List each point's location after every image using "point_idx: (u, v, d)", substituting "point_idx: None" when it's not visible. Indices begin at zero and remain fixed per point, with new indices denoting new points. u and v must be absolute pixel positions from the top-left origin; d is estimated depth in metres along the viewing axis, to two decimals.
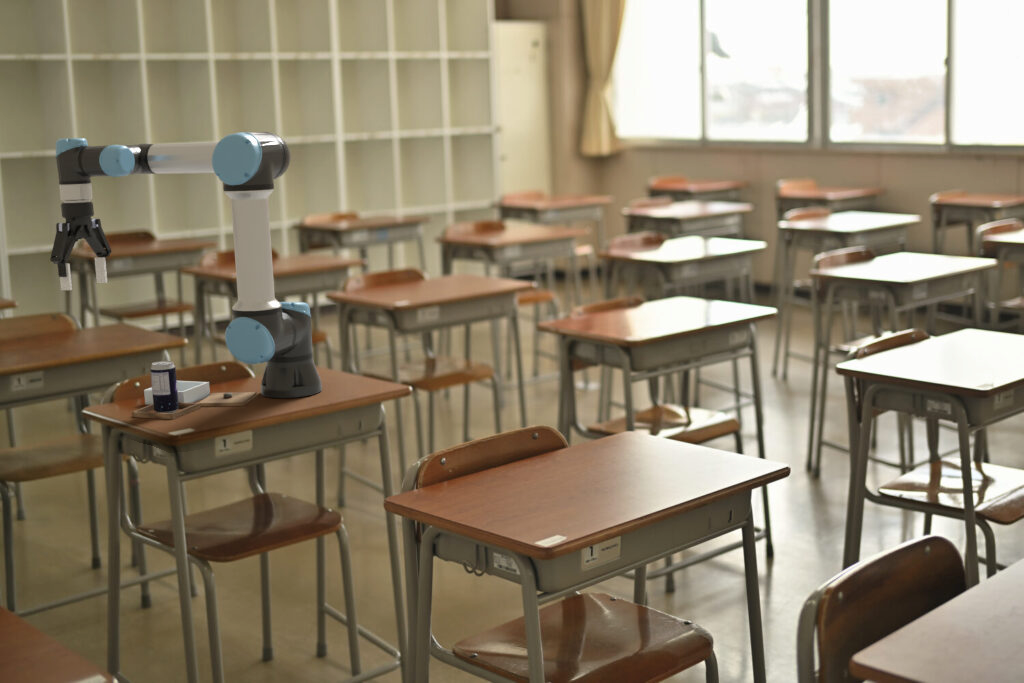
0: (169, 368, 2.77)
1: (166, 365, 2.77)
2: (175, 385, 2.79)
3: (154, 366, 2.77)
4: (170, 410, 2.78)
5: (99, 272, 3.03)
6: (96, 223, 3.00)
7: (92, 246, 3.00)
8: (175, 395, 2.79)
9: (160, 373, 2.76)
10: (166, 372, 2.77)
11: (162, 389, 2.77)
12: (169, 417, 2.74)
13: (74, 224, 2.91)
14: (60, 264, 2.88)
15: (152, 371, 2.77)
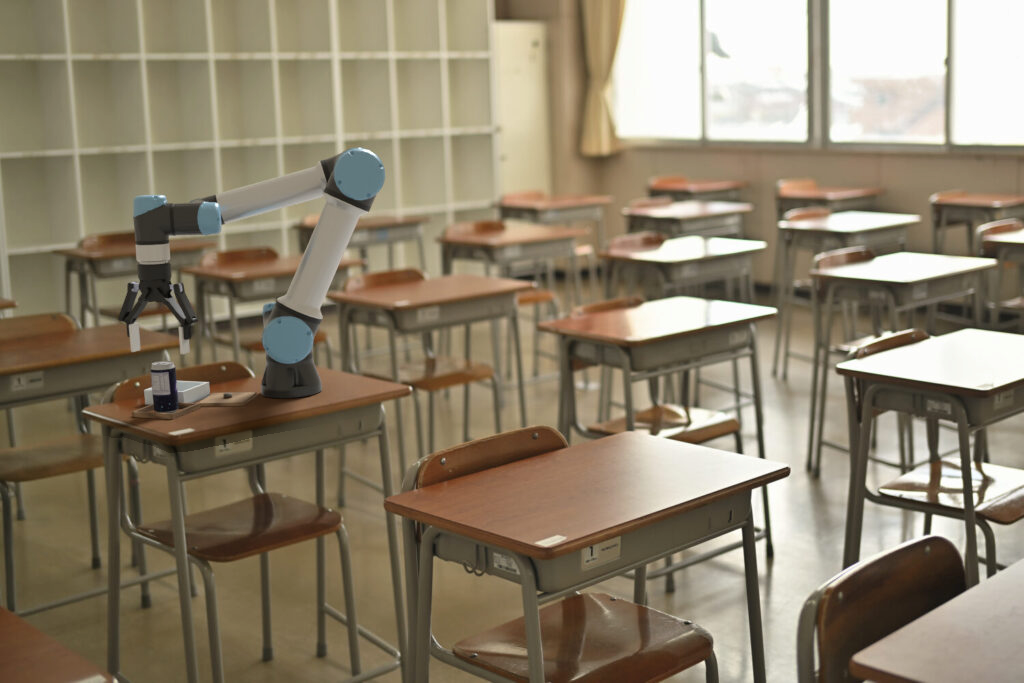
0: (169, 368, 2.77)
1: (166, 365, 2.77)
2: (175, 385, 2.79)
3: (154, 366, 2.77)
4: (170, 410, 2.78)
5: None
6: None
7: None
8: (175, 395, 2.79)
9: (160, 373, 2.76)
10: (166, 372, 2.77)
11: (162, 389, 2.77)
12: (169, 417, 2.74)
13: (141, 285, 2.75)
14: None
15: (152, 371, 2.77)
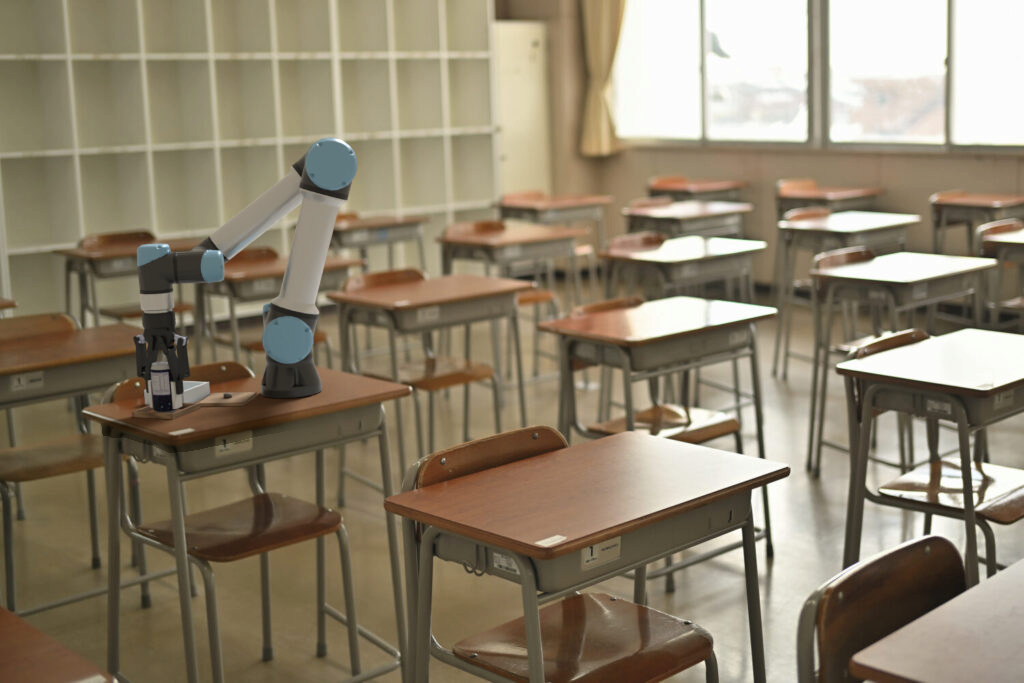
0: (169, 368, 2.77)
1: (166, 365, 2.77)
2: None
3: (154, 366, 2.77)
4: (170, 410, 2.78)
5: None
6: None
7: None
8: None
9: (160, 373, 2.76)
10: (166, 372, 2.77)
11: (162, 389, 2.77)
12: (169, 417, 2.74)
13: (145, 333, 2.77)
14: None
15: (152, 371, 2.77)
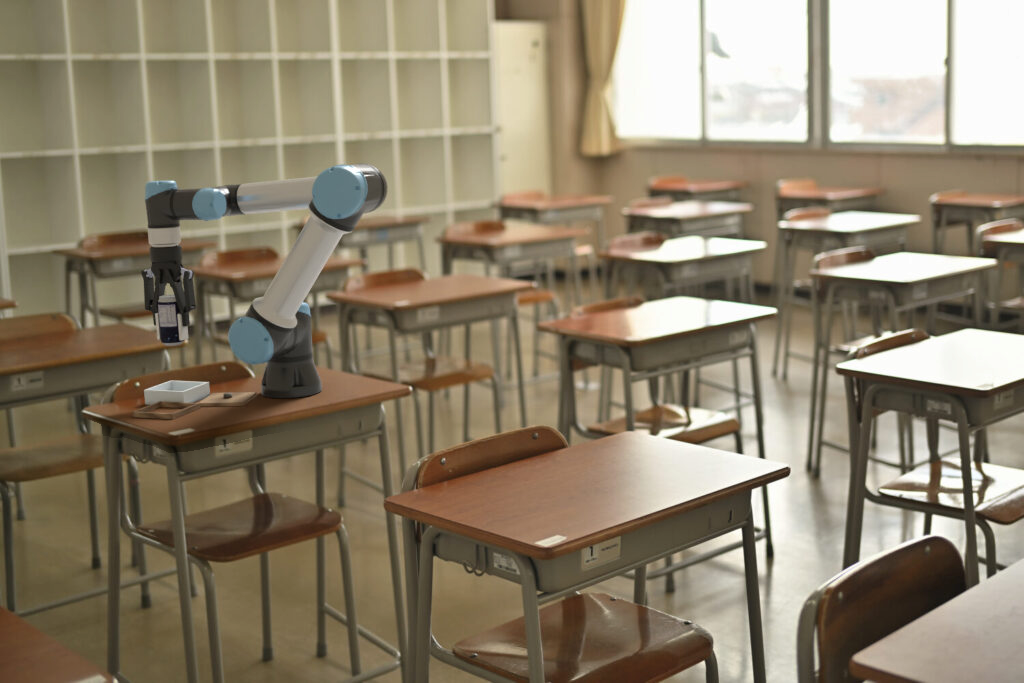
0: (176, 301, 2.87)
1: (173, 298, 2.87)
2: None
3: (161, 299, 2.87)
4: (177, 341, 2.89)
5: None
6: None
7: None
8: None
9: (167, 306, 2.87)
10: (173, 304, 2.87)
11: (169, 321, 2.87)
12: (169, 417, 2.74)
13: (153, 267, 2.88)
14: None
15: (159, 303, 2.87)
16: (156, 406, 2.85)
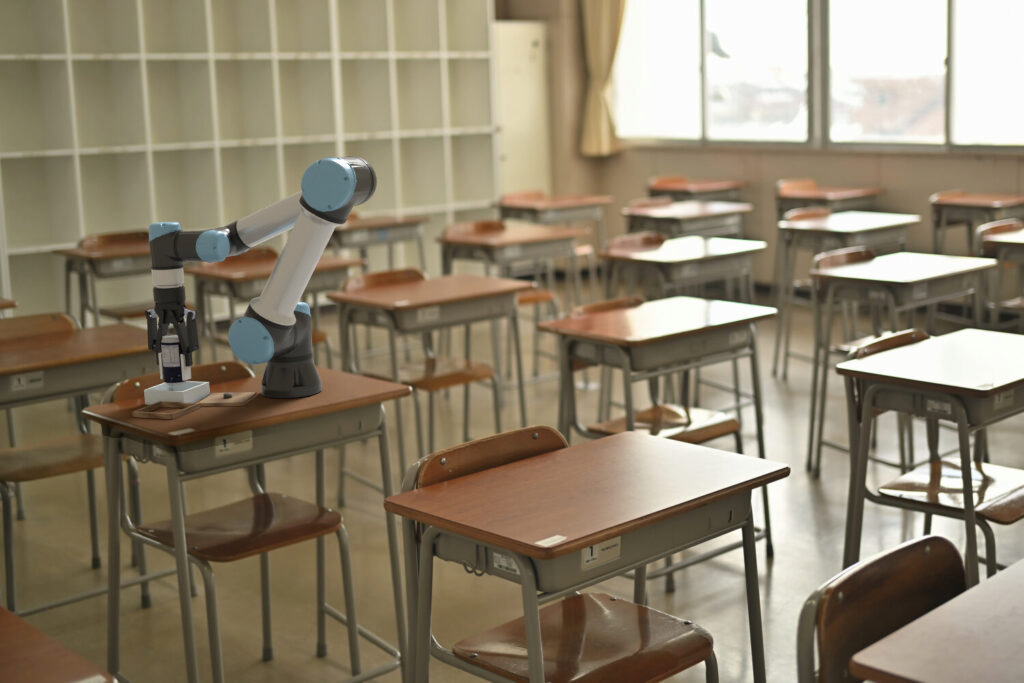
0: (179, 341, 2.89)
1: (176, 338, 2.89)
2: None
3: (164, 339, 2.89)
4: (179, 381, 2.91)
5: None
6: None
7: None
8: None
9: (170, 346, 2.88)
10: (176, 345, 2.89)
11: (172, 361, 2.89)
12: (169, 417, 2.74)
13: (156, 308, 2.90)
14: None
15: (162, 344, 2.89)
16: (156, 406, 2.85)
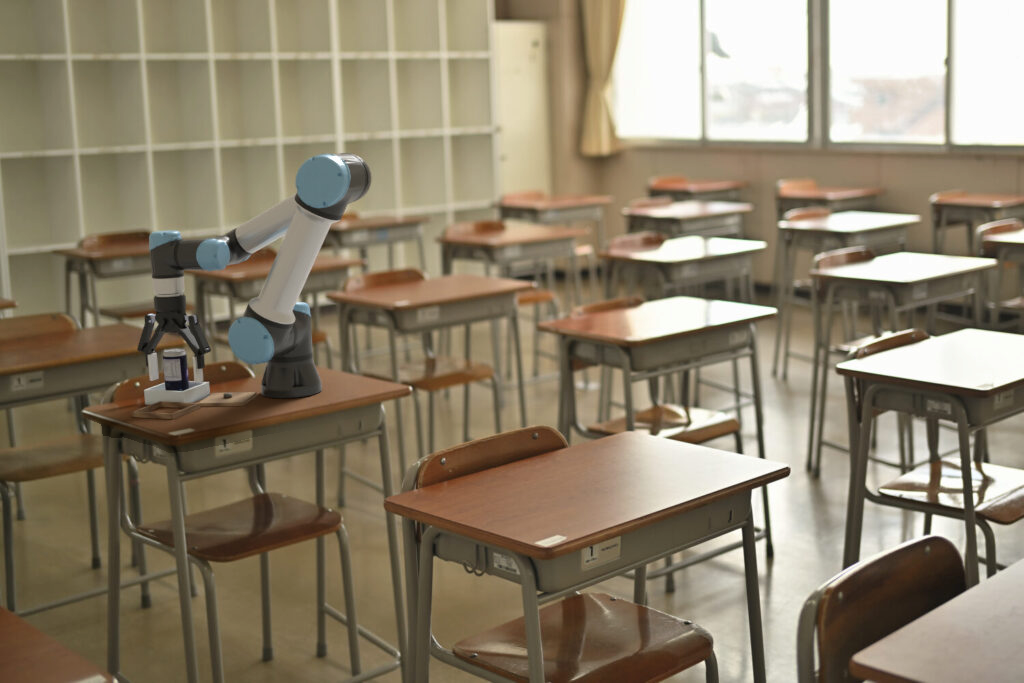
0: (180, 355, 2.90)
1: (178, 352, 2.90)
2: (186, 371, 2.92)
3: (166, 353, 2.89)
4: None
5: None
6: None
7: None
8: (186, 381, 2.92)
9: (172, 360, 2.89)
10: (178, 359, 2.89)
11: (173, 375, 2.90)
12: (169, 417, 2.74)
13: (158, 316, 2.90)
14: None
15: (164, 358, 2.90)
16: (156, 406, 2.85)
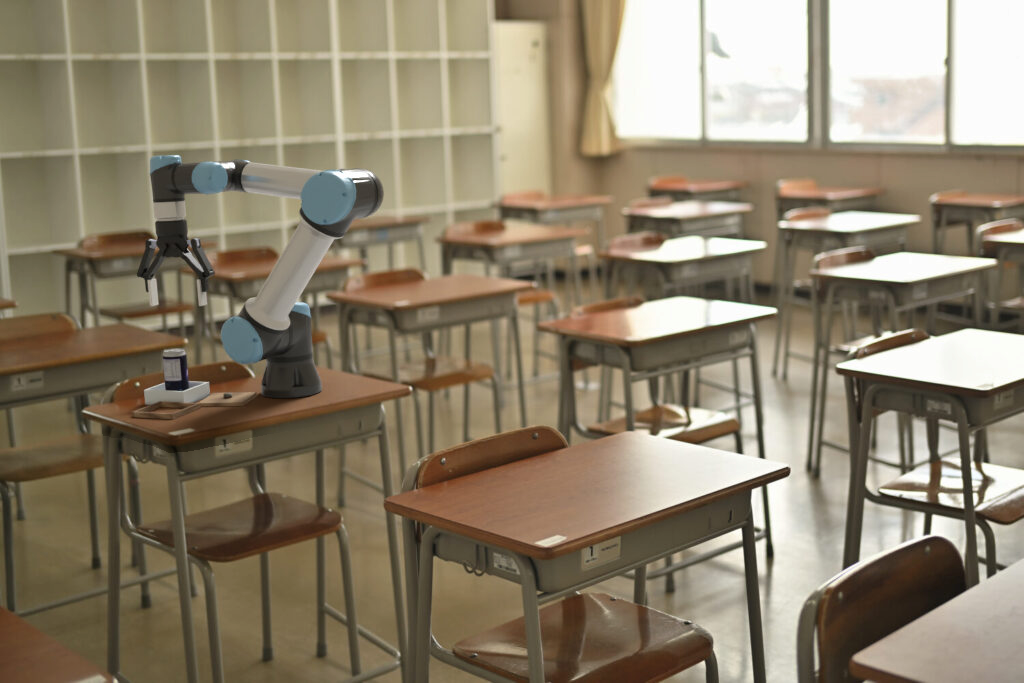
0: (180, 355, 2.90)
1: (177, 352, 2.90)
2: (186, 371, 2.92)
3: (166, 353, 2.89)
4: None
5: None
6: None
7: None
8: (186, 381, 2.92)
9: (172, 360, 2.89)
10: (178, 359, 2.89)
11: (173, 375, 2.90)
12: (169, 417, 2.74)
13: (159, 242, 2.89)
14: None
15: (164, 358, 2.90)
16: (156, 406, 2.85)
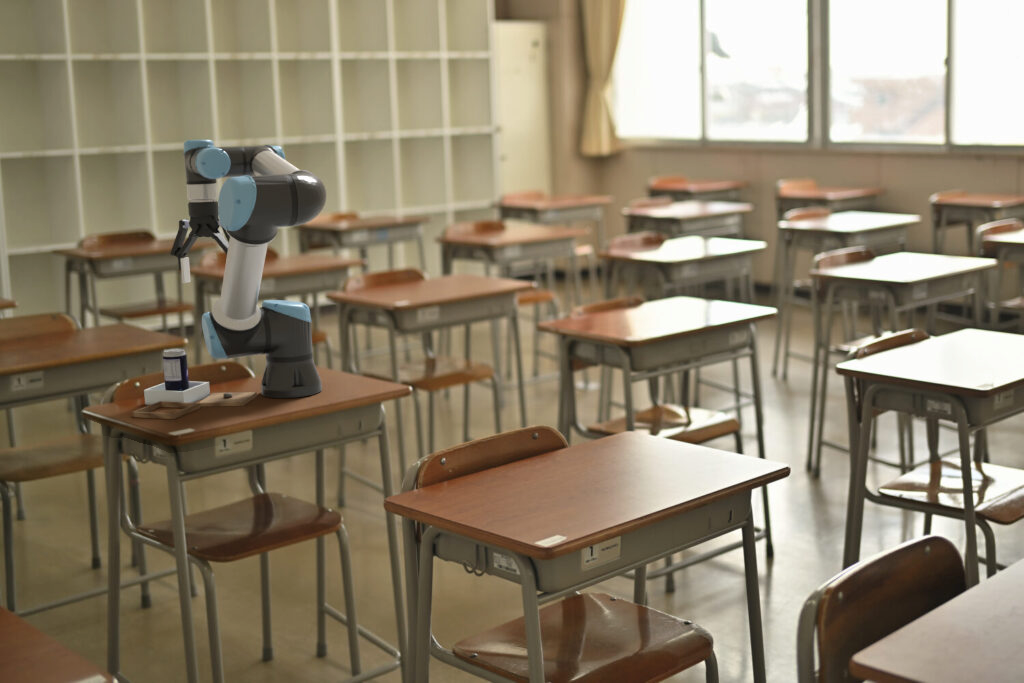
0: (180, 355, 2.90)
1: (177, 352, 2.89)
2: (186, 371, 2.92)
3: (166, 353, 2.89)
4: None
5: None
6: None
7: None
8: (186, 381, 2.92)
9: (172, 360, 2.89)
10: (178, 359, 2.89)
11: (173, 375, 2.90)
12: (169, 417, 2.74)
13: (192, 222, 3.04)
14: None
15: (164, 358, 2.90)
16: (156, 406, 2.85)
